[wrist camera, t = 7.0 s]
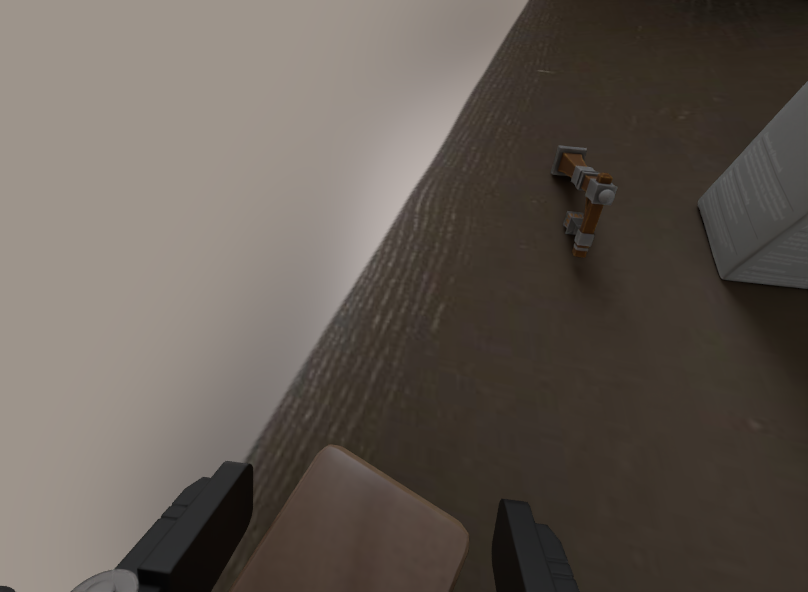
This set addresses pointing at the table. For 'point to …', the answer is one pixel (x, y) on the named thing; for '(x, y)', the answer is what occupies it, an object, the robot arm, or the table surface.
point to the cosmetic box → (764, 205)
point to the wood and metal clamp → (597, 195)
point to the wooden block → (355, 535)
